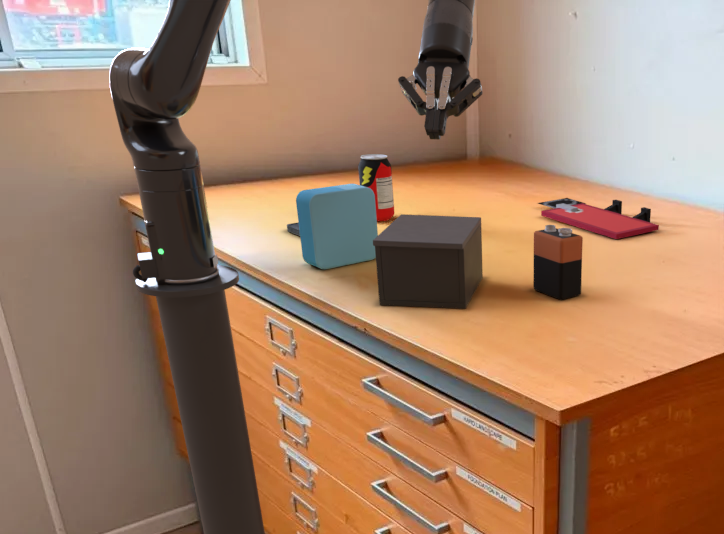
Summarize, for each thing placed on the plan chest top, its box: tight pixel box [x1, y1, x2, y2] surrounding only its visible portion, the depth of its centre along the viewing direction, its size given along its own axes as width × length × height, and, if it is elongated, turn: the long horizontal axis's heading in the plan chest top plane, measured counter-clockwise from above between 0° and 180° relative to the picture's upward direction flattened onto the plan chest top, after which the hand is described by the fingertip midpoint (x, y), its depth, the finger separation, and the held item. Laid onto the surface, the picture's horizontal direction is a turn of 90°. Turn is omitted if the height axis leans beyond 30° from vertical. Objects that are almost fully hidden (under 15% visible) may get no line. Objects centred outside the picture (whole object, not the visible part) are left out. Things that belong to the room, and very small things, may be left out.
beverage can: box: [357, 153, 395, 222], centre depth 171 cm, size 6×6×12 cm
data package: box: [295, 183, 379, 270], centre depth 143 cm, size 12×4×12 cm, turn 135°
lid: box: [373, 213, 482, 249], centre depth 128 cm, size 16×13×1 cm
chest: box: [375, 222, 484, 310], centre depth 131 cm, size 16×13×9 cm
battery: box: [533, 224, 584, 301], centre depth 131 cm, size 4×7×10 cm, turn 41°
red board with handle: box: [537, 197, 660, 240], centre depth 177 cm, size 30×3×15 cm
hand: (434, 135), depth 127 cm, fingers closed
